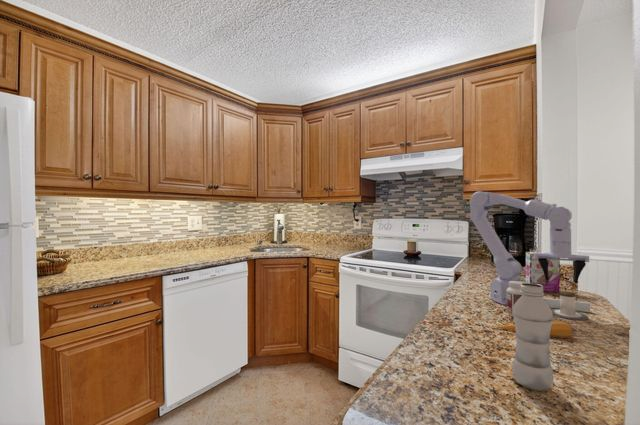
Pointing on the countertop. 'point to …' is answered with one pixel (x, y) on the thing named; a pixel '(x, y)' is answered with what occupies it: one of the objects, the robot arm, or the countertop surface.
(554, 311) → the ring mat
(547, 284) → the candy bar box
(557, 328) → the carrot
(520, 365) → the plastic bottle
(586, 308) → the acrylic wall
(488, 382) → the countertop surface
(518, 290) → the pill bottle
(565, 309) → the spice jar
